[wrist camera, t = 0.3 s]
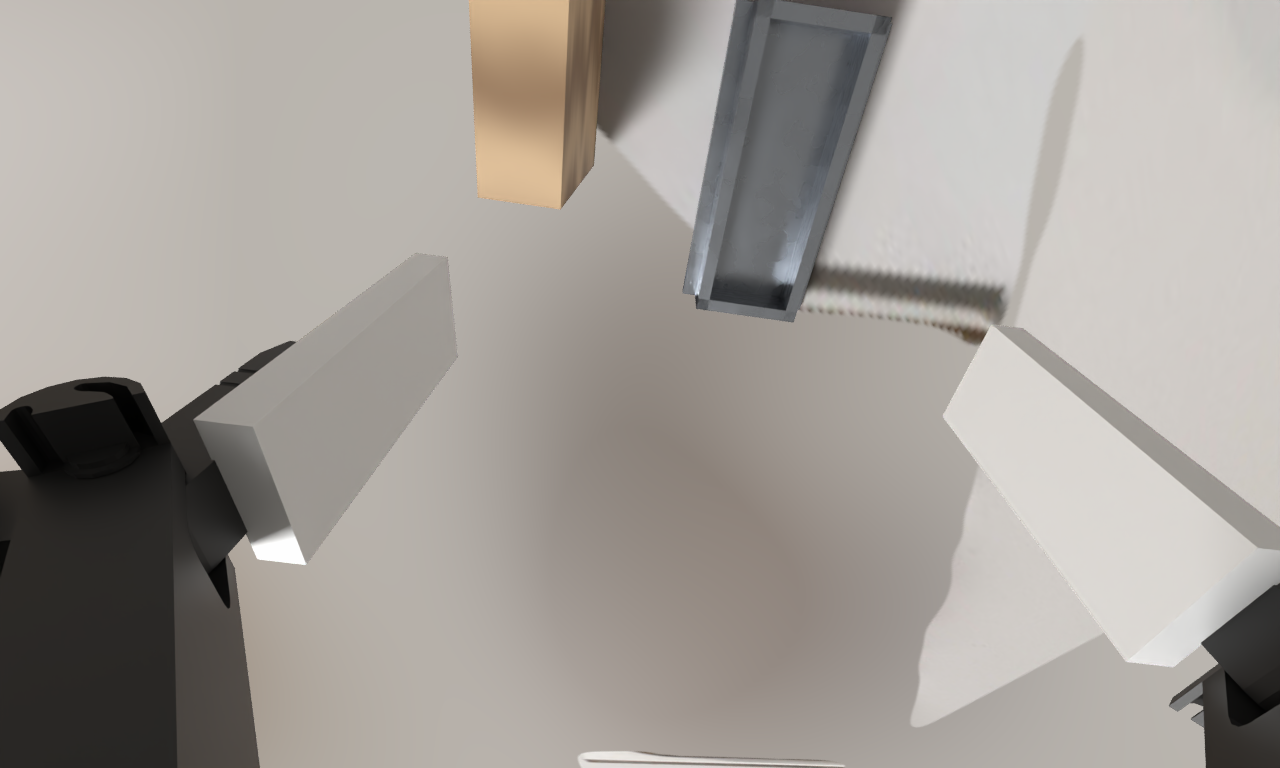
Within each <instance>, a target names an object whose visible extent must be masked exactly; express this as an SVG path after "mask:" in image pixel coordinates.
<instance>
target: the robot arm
mask: <svg viewBox="0 0 1280 768" xmlns="http://www.w3.org/2000/svg"><path fill="white" fill-rule="evenodd" d="M457 357H458V355H457V345H456V335H455V326H454V315H453V305H452V296H451V286H450V276H449V266H448V257H444V256H443V257H442V256H435V255H427V254H419V253H415V254H414V255H412V256H411V257H410V258H408V259H407V260H406V261H404V262H403V263H402V264H400V265H399V266H398V267H396V268H395V269H394V270H392V271H391V272H390V273H388V274H387V275H386V276H385V277H383V278H382V279H380V280H379V281H378V282H376V283H375V284H374V285H372V286H371V287H370V288H368V289H367V290H366V291H364V292H363V293H362V294H360V295H359V296H358V297H356V298H355V299H354V300H352V301H351V302H349V303H348V304H347V305H346V306H344V307H343V308H341V309H340V310H339V311H337V312H336V313H335V314H333V315H332V316H331V317H330V318H328V319H327V320H325V321H324V322H323V323H321V324H320V325H319V326H317V327H316V328H315V329H313V330H312V331H311V332H309V333H308V334H307V335H305V336H304V337H303V338H301V339H300V340H299V341H297V342H294V341H289V342H286V343H284V344H281V345H279V346H276V347H274V348H271V349H269V350H266V351H264V352H261V353H259V354H258V355H257V356H255V357H254V358H253V359H251V360H250V361H248V362H247V363H245V364H244V365H243V366H241V367H240V368H239V370H238V372H233V373H231V374H230V375H229V376H227V377H226V378H224V379H223V380H221V381H220V385H214V386H213V387H212V388H210V389H209V390H207V391H206V392H204V393H203V394H202V395H200V396H199V397H197V398H196V399H195V400H193V401H192V402H190V403H189V404H188V405H186V406H185V407H183V408H182V409H180V410H179V411H178V412H176V413H175V414H173V415H172V416H171V417H169V418H168V419H166V420H165V421H164V422H162V423H161V422H160V420H159V418H158V416H157V414H156V412H155V410H154V408H153V406H152V404H151V402H150V401H149V398H148V396H147V395H146V393H145V391H144V389H143V387H142V385H141V384H140V383H138V382H135V381H133V380H130V379H127V378H116V377H98V378H89V379H81V380H74V381H70V382H66V383H62V384H58V385H54V386H50V387H47V388H44V389H41V390H39V391H36V392H33V393H31V394H28V395H26V396H23V397H20V398H19V399H17V400H15V401H14V402H12V403H10V404H9V405H7V406H5V407H4V408H2V409H0V441H1V442H2V443H3V445H4V446H5V447H6V449H7V450H8V452H9V453H10V454H11V456H12V457H13V458H14V460H15V461H16V462H17V464H18V465H19V466H20V468H21V469H22V470H16V471H5V472H0V768H260V765H259V757H258V749H257V742H256V733H255V726H254V717H253V710H252V702H251V694H250V686H249V678H248V670H247V662H246V654H245V646H244V638H243V630H242V622H241V614H240V607H239V599H238V591H237V583H236V575H235V568H234V566H233V564H232V562H231V560H230V558H229V556H228V553H229V552H230V551H231V550H232V549H233V547H235V545H236V544H237V543H238V542H239V541H240V540H241V539H242V538H243V537H244V535H245V534H246V535H247V537H248V539H249V541H250V543H251V546H252V548H253V550H254V552H255V554H256V557H257V559H261V560H269V561H277V562H286V563H294V564H303V565H307V563H308V562H309V560H310V559H311V558H312V556H313V555H314V554H315V552H316V551H317V549H318V548H319V547H320V545H321V544H322V543H323V541H324V540H325V538H326V537H327V536H328V534H329V533H330V532H331V530H332V529H333V527H334V526H335V525H336V523H337V522H338V521H339V519H340V518H341V517H342V515H343V514H344V512H345V511H346V510H347V508H348V507H349V505H350V504H351V503H352V501H353V500H354V499H355V497H356V496H357V495H358V493H359V492H360V490H361V489H362V488H363V486H364V485H365V484H366V482H367V481H368V479H369V478H370V477H371V475H372V474H373V473H374V471H375V470H376V468H377V467H378V466H379V464H380V463H381V461H382V460H383V459H384V457H385V456H386V455H387V453H388V452H389V451H390V449H391V448H392V446H393V445H394V444H395V442H396V441H397V440H398V438H399V437H400V435H401V434H402V433H403V431H404V430H405V429H406V427H407V426H408V424H409V423H410V422H411V420H412V419H413V418H414V416H415V415H416V414H417V412H418V411H419V409H420V408H421V407H422V405H423V404H424V403H425V401H426V400H427V398H428V397H429V396H430V394H431V393H432V391H433V390H434V389H435V387H436V386H437V385H438V383H439V382H440V381H441V379H442V378H443V376H444V375H445V374H446V372H447V371H448V369H449V368H450V367H451V365H452V364H453V363H454V361H455V360H456V359H457ZM943 418H944V419H945V420H946V422H947V423H948V424H949V426H950V427H951V428H952V430H953V431H954V432H955V434H956V435H957V436H958V438H959V439H960V440H961V442H962V443H963V444H964V446H965V447H966V448H967V450H968V451H969V452H970V454H971V455H972V456H973V458H974V459H975V460H976V462H977V463H978V464H979V466H980V467H981V468H982V470H983V471H984V472H985V474H986V475H987V476H988V478H989V479H990V481H991V482H992V483H993V485H994V486H995V487H996V489H997V490H998V491H999V493H1000V494H1001V495H1002V497H1003V498H1004V499H1005V501H1006V502H1007V503H1008V505H1009V506H1010V507H1011V509H1012V510H1013V511H1014V513H1015V514H1016V515H1017V517H1018V518H1019V519H1020V521H1021V522H1022V523H1023V525H1024V526H1025V527H1026V529H1027V530H1028V531H1029V533H1030V534H1031V535H1032V537H1033V538H1034V539H1035V541H1036V542H1037V543H1038V545H1039V546H1040V547H1041V549H1042V550H1043V551H1044V553H1045V554H1046V555H1047V557H1048V558H1049V559H1050V561H1051V562H1052V563H1053V565H1054V566H1055V567H1056V569H1057V570H1058V571H1059V573H1060V574H1061V575H1062V577H1063V578H1064V579H1065V581H1066V582H1067V583H1068V585H1069V586H1070V587H1071V589H1072V590H1073V591H1074V593H1075V594H1076V595H1077V597H1078V598H1079V599H1080V601H1081V602H1082V603H1083V605H1084V606H1085V607H1086V609H1087V610H1088V611H1089V613H1090V614H1091V615H1092V617H1093V618H1094V619H1095V621H1096V622H1097V624H1098V625H1099V626H1100V628H1101V629H1102V630H1103V632H1104V633H1105V634H1106V635H1107V637H1108V638H1109V639H1110V641H1111V642H1112V644H1113V645H1114V646H1115V647H1116V649H1117V650H1118V651H1119V653H1120V654H1121V655H1122V657H1123V658H1124V660H1125V661H1126V662H1134V663H1141V664H1151V665H1158V666H1168V667H1174V666H1175V665H1176V664H1178V663H1179V662H1180V661H1182V660H1183V659H1184V658H1185V657H1187V656H1188V655H1189V654H1191V653H1192V652H1193V651H1194V650H1195V649H1197V648H1198V647H1199V646H1201V645H1203V646H1204V647H1205V648H1206V650H1207V651H1208V652H1209V653H1210V654H1211V655H1212V656H1213V657H1214V659H1215V660H1216V661H1217V662H1218V663H1219V664H1218V665H1216V666H1215V667H1213V668H1212V669H1211V670H1209V671H1208V672H1207V673H1205V674H1204V675H1203V676H1201V677H1200V678H1199V679H1197V680H1196V681H1195V682H1193V683H1192V684H1191V685H1189V686H1188V687H1187V688H1185V689H1184V690H1182V691H1181V692H1180V693H1178V694H1177V695H1176V696H1174V697H1173V698H1172V700H1171V703H1170V705H1169V706H1170V707H1171V708H1173V709H1174V710H1176V711H1179V710H1181V709H1182V708H1184V707H1185V706H1186V705H1188V704H1189V703H1196V704H1198V705H1201V706H1203V710H1202V711H1201V712H1199V713H1198V714H1196V715H1195V716H1193V717H1192V718H1191V720H1192V721H1194V722H1196V723H1197V724H1199V725H1201V726H1202V727H1204V730H1205V731H1204V733H1205V757H1206V768H1280V527H1279V526H1277V525H1276V524H1275V523H1274V522H1272V521H1271V520H1270V519H1268V518H1267V517H1266V516H1265V515H1263V514H1262V513H1261V512H1259V511H1258V510H1257V509H1256V508H1254V507H1253V506H1252V505H1250V504H1249V503H1248V502H1246V501H1245V500H1244V499H1243V498H1241V497H1240V496H1239V495H1237V494H1236V493H1235V492H1234V491H1232V490H1231V489H1230V488H1228V487H1227V486H1226V485H1225V484H1223V483H1222V482H1221V481H1219V480H1218V479H1217V478H1216V477H1214V476H1213V475H1212V474H1210V473H1209V472H1208V471H1206V470H1205V469H1204V468H1203V467H1201V466H1200V465H1199V464H1197V463H1196V462H1195V461H1194V460H1192V459H1191V458H1190V457H1188V456H1187V455H1186V454H1185V453H1183V452H1182V451H1181V450H1179V449H1178V448H1177V447H1175V446H1174V445H1173V444H1172V443H1170V442H1169V441H1168V440H1166V439H1165V438H1164V437H1163V436H1161V435H1160V434H1159V433H1157V432H1156V431H1155V430H1154V429H1152V428H1151V427H1150V426H1148V425H1147V424H1146V423H1145V422H1143V421H1142V420H1141V419H1139V418H1138V417H1137V416H1135V415H1134V414H1133V413H1132V412H1130V411H1129V410H1128V409H1126V408H1125V407H1124V406H1123V405H1121V404H1120V403H1119V402H1117V401H1116V400H1115V399H1114V398H1112V397H1111V396H1110V395H1108V394H1107V393H1106V392H1104V391H1103V390H1102V389H1101V388H1099V387H1098V386H1097V385H1095V384H1094V383H1093V382H1092V381H1090V380H1089V379H1088V378H1086V377H1085V376H1084V375H1083V374H1081V373H1080V372H1079V371H1077V370H1076V369H1075V368H1073V367H1072V366H1071V365H1070V364H1068V363H1067V362H1066V361H1064V360H1063V359H1062V358H1061V357H1059V356H1058V355H1057V354H1055V353H1054V352H1053V351H1052V350H1050V349H1049V348H1048V347H1046V346H1045V345H1044V344H1043V343H1041V342H1040V341H1039V340H1037V339H1036V338H1035V337H1033V336H1032V335H1031V334H1030V333H1028V332H1027V331H1026V330H1024V329H1023V328H1016V327H1008V326H1000V325H991V327H990V328H989V330H988V332H987V334H986V336H985V338H984V340H983V341H982V343H981V345H980V347H979V349H978V351H977V353H976V355H975V356H974V358H973V360H972V362H971V364H970V366H969V368H968V370H967V371H966V373H965V375H964V377H963V379H962V381H961V383H960V384H959V386H958V388H957V390H956V392H955V394H954V396H953V397H952V400H951V401H950V403H949V405H948V407H947V409H946V411H945V413H944V414H943Z"/></svg>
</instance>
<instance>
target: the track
mask: <svg viewBox="0 0 1280 768" xmlns="http://www.w3.org/2000/svg"><path fill="white" fill-rule="evenodd" d="M891 19H892V17H885V16H879V15H872V14H866V13H859V12H853V11H846V10H840V9H833V8H827V7H820V6H814V5H807V4H801V3H795V2H788V1H782V0H755V1H754V2H753V1H747V0H736V3H735V9H734V14H733V20H732V25H731V31H730V36H729V41H728V47H727V52H726V58H725V63H724V69H723V74H722V79H721V85H720V90H719V96H718V101H717V107H716V112H715V118H714V123H713V128H712V134H711V139H710V145H709V150H708V156H707V161H706V166H705V172H704V177H703V183H702V188H701V194H700V199H699V204H698V210H697V215H696V221H695V226H694V232H693V237H692V243H691V248H690V254H689V259H688V264H687V270H686V276H685V281H684V286H683V293H685V294H692V295H695V299H696V309H703V310H709V311H717V312H724V313H731V314H738V315H745V316H752V317H759V318H766V319H774V320H780V321H788V322H794V319H795V316H796V313H797V310H799V309H800V306H801V303H802V300H803V297H804V294H805V291H806V288H807V285H808V282H809V279H810V276H811V272H812V269H813V266H814V263H815V260H816V257H817V254H818V251H819V248H820V245H821V242H822V239H823V235H824V232H825V229H826V226H827V223H828V220H829V217H830V214H831V211H832V208H833V205H834V202H835V199H836V195H837V192H838V189H839V186H840V183H841V180H842V177H843V174H844V171H845V168H846V165H847V162H848V158H849V155H850V152H851V149H852V146H853V143H854V140H855V137H856V134H857V131H858V128H859V125H860V121H861V118H862V115H863V112H864V109H865V106H866V103H867V100H868V97H869V94H870V91H871V88H872V85H873V81H874V78H875V75H876V72H877V69H878V66H879V63H880V60H881V57H882V54H883V51H884V48H885V44H886V41H887V38H888V35H889V32H890V29H891V26H892V23H890V22H891Z"/></svg>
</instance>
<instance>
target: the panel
mask: <svg viewBox="0 0 1280 768" xmlns="http://www.w3.org/2000/svg"><path fill="white" fill-rule="evenodd" d="M605 3H606V0H469V12H470V34H471V56H472V78H473V101H474V121H475V122H474V123H475V145H476V167H477V189H478V198H485V199H492V200H499V201H506V202H513V203H520V204H527V205H534V206H540V207H547V208H554V209H561V208H562V207H563V206H564V204H565V203H566V201H567V200H568V199H569V198H570V196H571V195H572V194H573V192H574V191H575V190H576V188H577V187H578V186H579V184H580V183H581V182H582V180H583V179H584V178H585V176H586V175H587V174H588V172H589V171H590V170H591V168H592V167H593V166H594V156H595V142H596V128H597V114H598V100H599V86H600V72H601V58H602V44H603V30H604V17H605Z"/></svg>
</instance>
